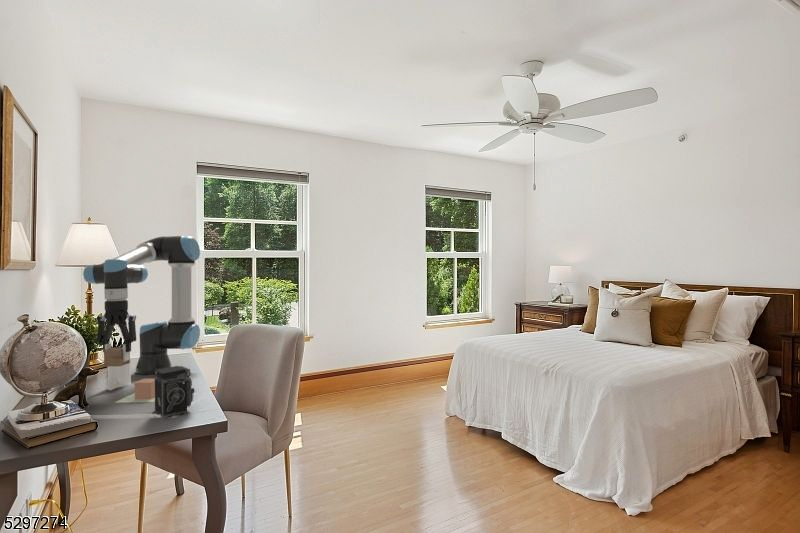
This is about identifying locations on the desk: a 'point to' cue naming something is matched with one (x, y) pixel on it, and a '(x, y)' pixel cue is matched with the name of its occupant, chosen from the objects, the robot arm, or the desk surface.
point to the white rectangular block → (119, 376)
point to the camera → (173, 390)
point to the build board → (132, 399)
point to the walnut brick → (114, 357)
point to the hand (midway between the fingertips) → (117, 360)
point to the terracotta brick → (145, 389)
